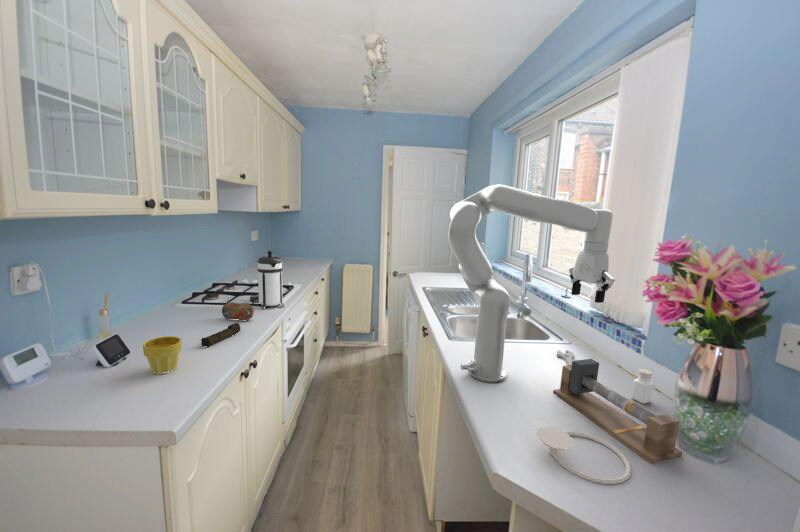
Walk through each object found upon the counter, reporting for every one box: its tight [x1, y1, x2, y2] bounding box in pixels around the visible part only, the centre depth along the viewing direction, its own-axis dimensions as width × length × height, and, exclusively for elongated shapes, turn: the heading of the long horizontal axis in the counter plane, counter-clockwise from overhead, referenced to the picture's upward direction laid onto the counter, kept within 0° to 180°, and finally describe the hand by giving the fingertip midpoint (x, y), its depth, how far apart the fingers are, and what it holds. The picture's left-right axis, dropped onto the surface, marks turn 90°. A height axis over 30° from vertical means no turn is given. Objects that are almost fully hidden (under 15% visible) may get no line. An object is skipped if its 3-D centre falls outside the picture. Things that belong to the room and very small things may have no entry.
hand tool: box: [200, 322, 241, 348], centre depth 145 cm, size 19×4×5 cm, turn 161°
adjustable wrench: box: [556, 349, 575, 366], centre depth 132 cm, size 25×6×2 cm, turn 162°
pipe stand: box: [552, 364, 683, 464], centre depth 98 cm, size 10×32×9 cm, turn 17°
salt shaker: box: [630, 368, 654, 405], centre depth 109 cm, size 4×4×10 cm
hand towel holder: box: [536, 426, 632, 485], centre depth 83 cm, size 17×4×21 cm
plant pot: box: [142, 335, 183, 373], centre depth 116 cm, size 10×10×10 cm
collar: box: [569, 358, 600, 394], centre depth 107 cm, size 7×3×9 cm, turn 107°
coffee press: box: [256, 250, 285, 308], centre depth 191 cm, size 17×16×30 cm
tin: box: [221, 302, 255, 322], centre depth 168 cm, size 15×3×8 cm, turn 81°
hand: (586, 298), depth 119 cm, fingers open, 9 cm apart
